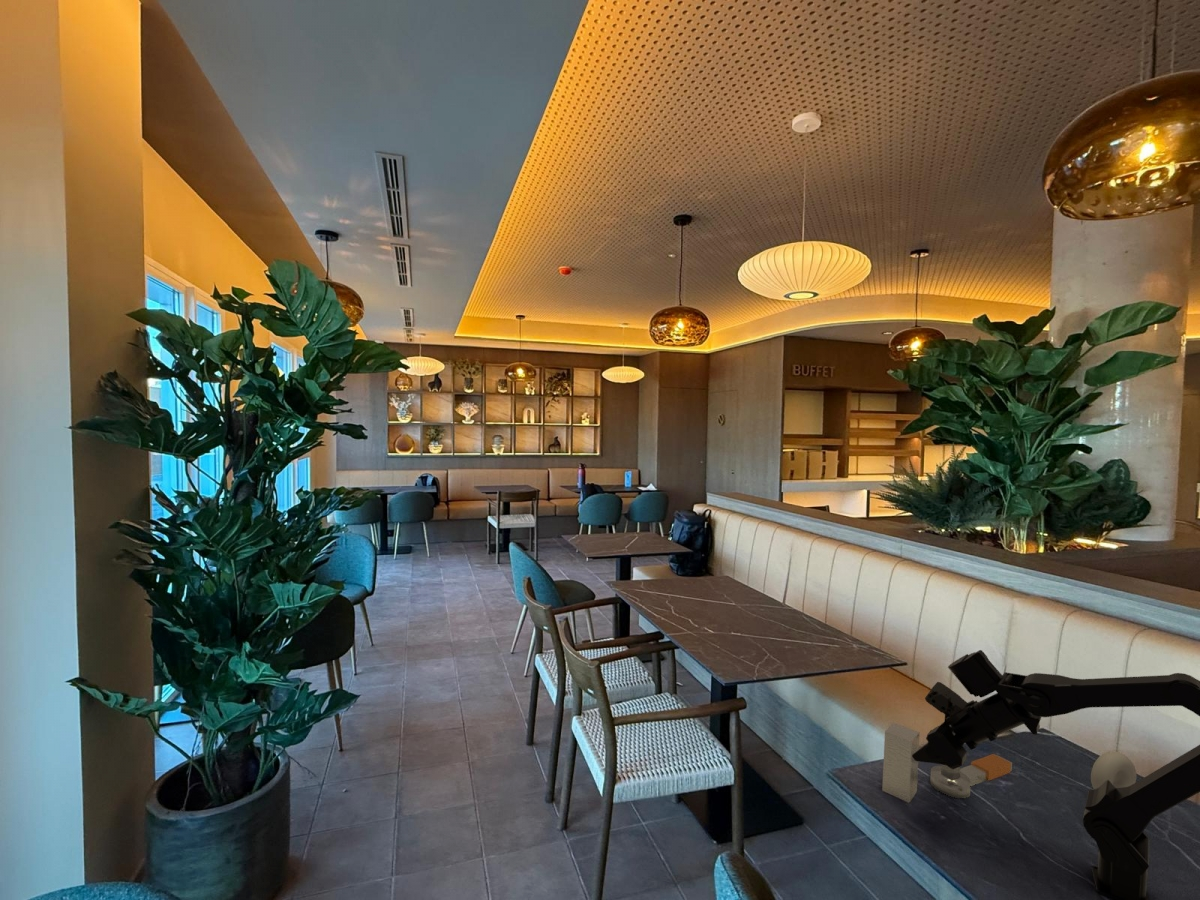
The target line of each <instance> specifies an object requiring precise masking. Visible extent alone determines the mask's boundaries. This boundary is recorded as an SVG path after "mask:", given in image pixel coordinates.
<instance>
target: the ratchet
mask: <svg viewBox="0 0 1200 900" xmlns="http://www.w3.org/2000/svg"><path fill="white" fill-rule="evenodd" d="M1012 770H1013V762H1011V761H1010V760H1008V759H1006V758H1004V757H1001V756H999V755H996V754H995V753H992V754H989V755H986V756H983V757H981V758H978V759H975V760H972V761H971V762H970V765H966V766H964V767H961V766H960V767H958V768H955V769H951V768H950V767H948V766H947V765H942V764H940V765H935V766H932V767H931V769H930V785H931V786H932V787H933V788H934V789H935V790H936V791H937V792H939V791H940V792H939V793H941V792H942V793H941V794H943V793H944V794H943V795H945V794H946V795H945V796H947V795H948V797H950V796H951V798H954V797H955V799H960V798H964V799H967V798H969V797H970V796H971V787H973V786H975V784H976V785H978V784H981V783H984V782H985V781H987V782H989V781H991V780H995V779H997V778H1000V777H1003V776H1005V775H1008V774H1010V773H1011V772H1012ZM970 786H971V787H970ZM966 797H967V798H966Z"/></svg>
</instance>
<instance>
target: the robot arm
mask: <svg viewBox="0 0 1200 900" xmlns="http://www.w3.org/2000/svg"><path fill="white" fill-rule="evenodd" d="M947 668H948V669H949V671H950V672H951V673H952V674H953V675H954V676H955V678H956V679H957V680H958V681H959V682H960V684H961V685H962V686H963V687H964V689H965V690H966V691H967V692H968V693H969V695H971V696H972V695H973V696H974V697H975V698H977V697H980V698H984V697H986V696H988V697H986V698H984V699H982V700H980V701H977V700H973V699H972V700H970V701H968V702H967V701H966V700H965V699H963V698H962V696H960V695H959V694H957V692H955V691H953V689H951V688H949V687H948V686H947V685H946V684H944V683H942V682H939V681H937V682H936V683H934V685H933V686H932V687H931V689H930V690H929V692H928V694H926V696H925V697H924V699H925V701H926V702H927V704H929V705H930V706H932V707H933V708H935V709H936V710H938V711H939V712H940V713H941V714H943V715H944V721H943V722H942V723H941V724H940V725H937V726H936V727H934V728H933V729H930V731H929V732H928V733H927V734H926V737H925V739H926V741H927V742H926V743H925V744H923V746H921V747H919V750H918V751H916V752H915V753H914V754H913V755H912V757H913V758H914V760H915V761H918V763H919V762H921V763H929V764H937V765H947V766H948V767H950V768H951V769H955V768H958V767H960V768H961V767H962V766H963V764H964V763H965V761H967V758H968V757H967V753H968V751H967V750H966V748H964V744H966V746H967V747H968V748H969V750H971V751H972V750H975V749H976V748H977V746H978V745H979V744H981V743H983V742H986V741H988V740H989V741H990V742H993V741H995V740H996V739H997V738H998V736H1000V735H1001V734H1004V733H1006V732H1008V731H1011V730H1013V729H1015V728H1017V727H1020V726H1022V725H1024V727H1026V728H1027V729H1028V730H1029V732H1031V734H1032V735H1035V736H1036V735H1037V734H1038V732H1039V730H1040V726H1041V725H1040V721H1041V720H1042V718H1049V717H1054V716H1056V717H1057V716H1062V715H1066V714H1070V713H1073V712H1076V711H1080V710H1083V709H1088V708H1089V709H1091V708H1125V707H1126V708H1127V707H1128V708H1131V707H1133V708H1134V707H1135V708H1137V707H1178V706H1179V707H1183V708H1185V709H1187V710H1189V711H1190V712H1192V713H1193V714H1195V715H1197V716H1199V717H1200V680H1199V679H1197V678H1196V677H1194V676H1192V675H1190V674H1186V673H1184V672H1183V673H1181V672H1176V673H1172V674H1167V675H1164V674H1162V675H1161V674H1160V675H1146V676H1145V675H1142V676H1141V675H1140V676H1124V677H1121V676H1120V677H1119V676H1118V677H1103V678H1102V677H1101V678H1085V679H1084V678H1083V679H1082V678H1075V677H1068V676H1065V675H1060V674H1053V673H1051V674H1050V673H1041V672H1034V673H1030V674H1028V675H1026V674H1025V675H1023V674H1018V673H1012V672H1008V671H1007V672H1003V674H1002V673H1001V672H1000V671H999V669H998V668H996V666H995V665H994V664H993V663H992V662H991V661H990V659H989V657H988V656H987V655H986V653H985V652H984V651H983V650H981V649H980V650H977V651H975V652H972V653H971V652H970V653H969V654H968V653H966V654H964V655H963V656H961V657H959V658H958V659H956V660H955V661H953V662H952V663H951V664H949V665H948V666H947ZM993 692H996V693H994V694H992V693H993ZM991 694H992V695H991ZM989 695H990V696H989ZM1199 793H1200V744H1198V745H1197V746H1195V747H1194V748H1192V749H1190V750H1188V751H1187V752H1185V753H1183V754H1182V755H1180V756H1178V757H1176V758H1175V759H1173V760H1171V761H1169V762H1168V763H1166V764H1165V765H1163V766H1161V767H1159V768H1158V769H1156V770H1155V771H1153V772H1150V773H1149V774H1148V775H1147V776H1145V777H1143V778H1141V779H1140V780H1138V781H1136V782H1135V783H1134V784H1132V785H1131V786H1128V787H1121V788H1115V787H1114V786H1113V784H1112V783H1111V782H1110V781H1109V780H1107V781H1105V782H1104V783H1103V784H1102V785H1101V786H1100V787H1099V788H1097V789H1094V788H1093V789H1088V791H1087V797H1086V801H1085V806H1084V807H1085V808H1084V813H1083V817H1082V823H1083V827H1084V829H1085V831H1086V833H1087V834H1088V835H1089V836H1090V837H1091V838H1092V839H1093V840H1094V841H1095V843H1096V845H1097V848H1098V858H1097V859H1098V860H1097V865H1096V866H1095V865H1091V871H1092V876H1093V881H1094V884H1095V888H1096V892H1098V893H1099V894H1100V895H1103V896H1105V897H1108V898H1111V899H1114V900H1151V899H1150V896H1149V894H1148V890H1147V885H1148V870H1149V866H1150V837H1149V836H1148V835H1147V834H1146V832H1144V831H1145V829H1146V828H1147V827H1148V826H1149V824H1150V822H1151V821H1152V820H1153V819H1154V818H1155V817H1157V816H1159V815H1161V814H1163V813H1165V812H1166V811H1168V810H1171V809H1172V808H1174V807H1175V806H1177V805H1179V804H1182V802H1185V801H1186V800H1188V799H1190V798H1192V797H1194V796H1195V795H1198V794H1199Z"/></svg>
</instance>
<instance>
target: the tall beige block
mask: <svg viewBox="0 0 1200 900" xmlns="http://www.w3.org/2000/svg"><path fill="white" fill-rule="evenodd" d="M883 742H884V745H883V767H882V789H881V791H882V792H884V793H886V794H889V795H891V796H893V797H895V798H897V799H900V800H902V801H903V802H906V803H908V804H909V803H910V802H911V801H912V800H913V798H914V797H915V795H916V794H917V792H918V775H919V774H918V772H919V761H915V760H914V758H913V757H912V755H913V754H914V753H915V752H916V751H918V750H919V749H920V732H919V731H917V730H914V729H912V728H910V727H906V726H904V725H901V724H898V723H895V722H892V723H891V724H890V725H889V727H887V728H886V730H885V731H884V741H883Z"/></svg>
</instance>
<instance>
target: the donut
mask: <svg viewBox="0 0 1200 900" xmlns="http://www.w3.org/2000/svg"><path fill="white" fill-rule="evenodd" d="M1107 780H1109V781H1110V782H1111V783H1112V784H1113V786H1114V787H1115V788H1121V787H1128V786H1131V785H1132V784H1134V783H1136V782H1137V769H1136V765H1135V764H1134V762H1133V761H1132V759H1130V758H1129V756H1127V755H1126V754H1124V753H1123V752H1120V751H1113V750H1112V751H1111V750H1110V751H1107V752H1104V753H1102V754H1101V755H1100V756H1098V757H1097V759H1096V760H1095V762H1094V763H1093V766H1092V768H1091V772H1090V781H1091V786H1092V788H1093V790H1094V789H1097V788H1099V787H1100V786H1101V785H1102V784H1103V783H1104V782H1105V781H1107Z"/></svg>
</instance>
